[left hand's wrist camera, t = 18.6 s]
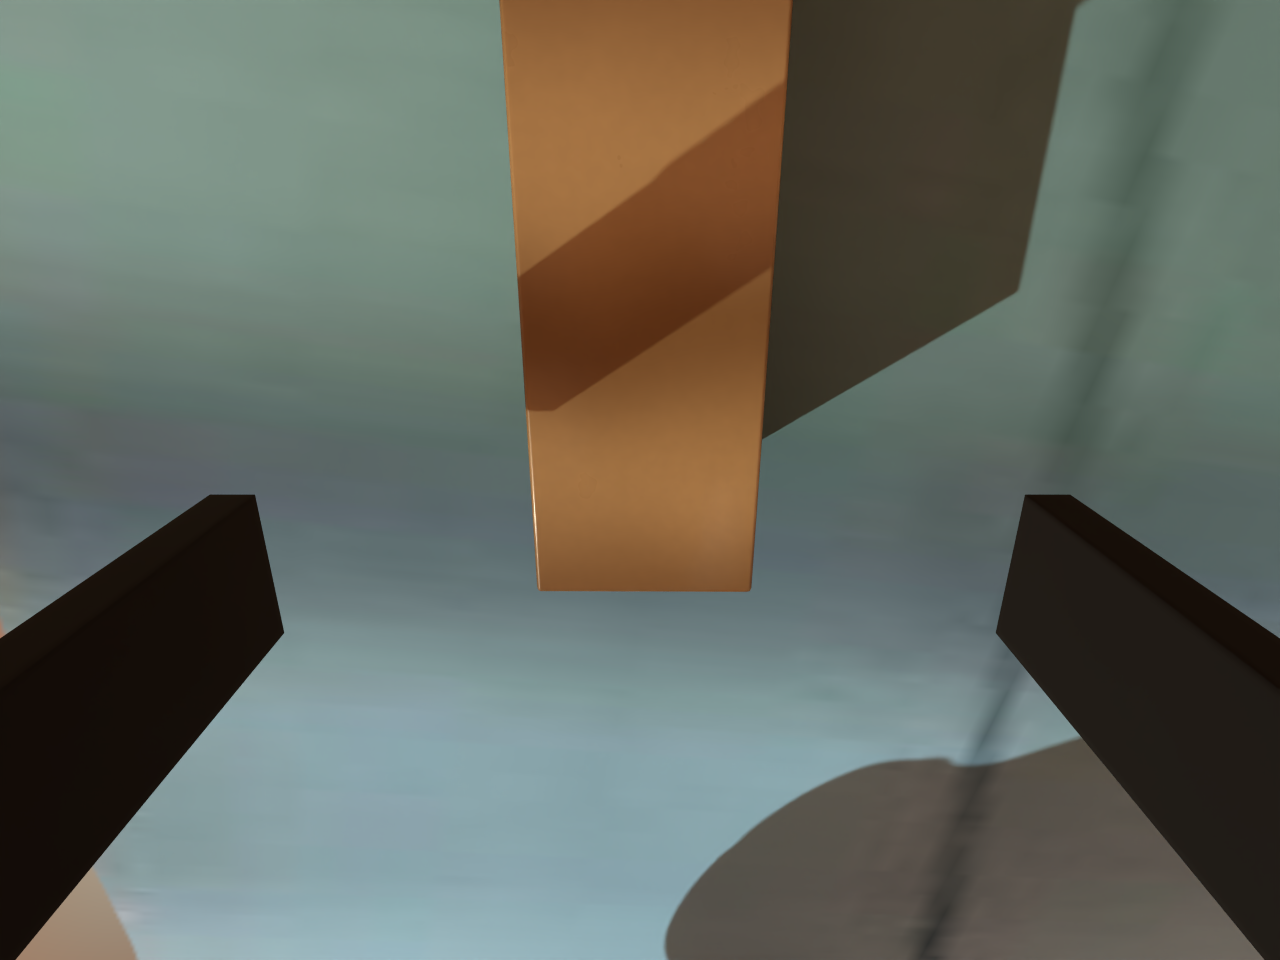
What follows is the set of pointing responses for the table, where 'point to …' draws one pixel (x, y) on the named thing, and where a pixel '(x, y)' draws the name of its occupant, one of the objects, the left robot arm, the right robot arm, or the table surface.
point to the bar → (645, 279)
